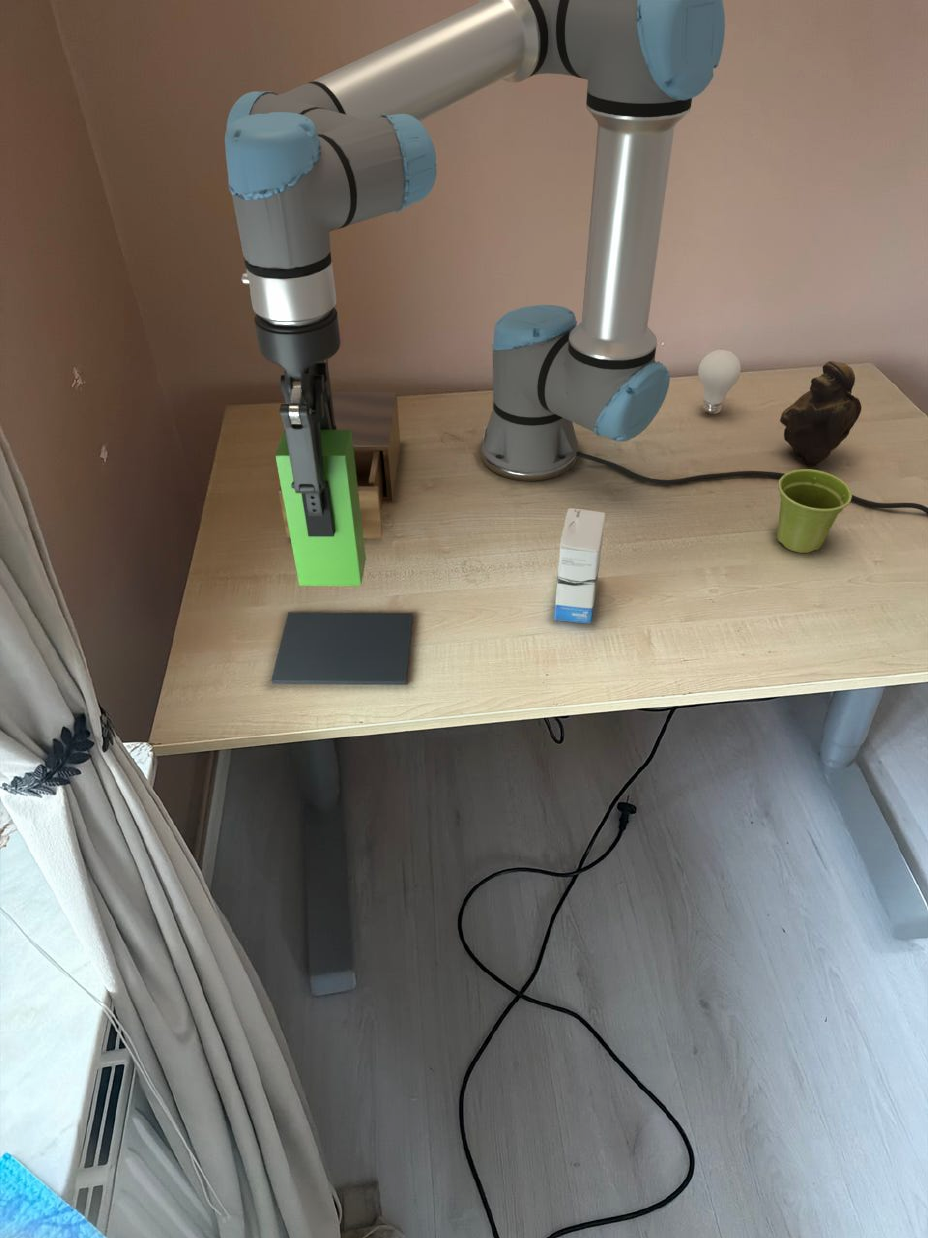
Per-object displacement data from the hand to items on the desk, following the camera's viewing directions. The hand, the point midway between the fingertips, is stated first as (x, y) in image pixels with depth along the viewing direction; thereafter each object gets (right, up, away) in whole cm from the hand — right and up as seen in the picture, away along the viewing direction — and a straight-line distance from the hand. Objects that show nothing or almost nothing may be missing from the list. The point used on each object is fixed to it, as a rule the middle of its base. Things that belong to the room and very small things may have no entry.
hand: (325, 518), depth 97 cm
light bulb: (+57, +24, +54) cm, 82 cm away
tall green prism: (0, -6, +5) cm, 8 cm away
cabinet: (-3, +12, +42) cm, 44 cm away
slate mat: (0, -15, +14) cm, 20 cm away
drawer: (-3, +4, +32) cm, 33 cm away
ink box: (+30, -9, +19) cm, 36 cm away
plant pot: (+62, 0, +28) cm, 68 cm away
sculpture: (+69, +14, +43) cm, 83 cm away
